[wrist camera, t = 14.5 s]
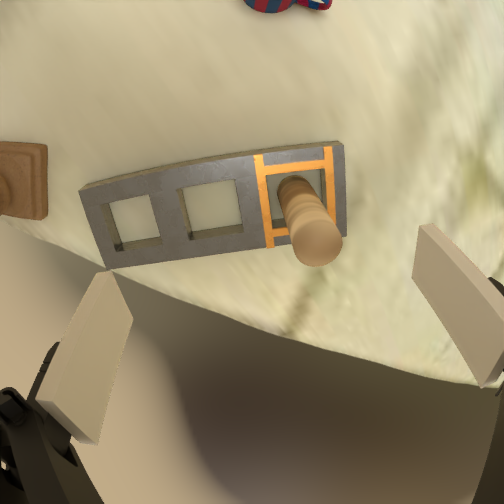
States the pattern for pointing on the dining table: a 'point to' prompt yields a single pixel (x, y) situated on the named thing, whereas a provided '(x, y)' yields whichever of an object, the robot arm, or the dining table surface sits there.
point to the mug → (285, 5)
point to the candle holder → (23, 180)
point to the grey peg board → (207, 171)
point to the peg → (308, 223)
